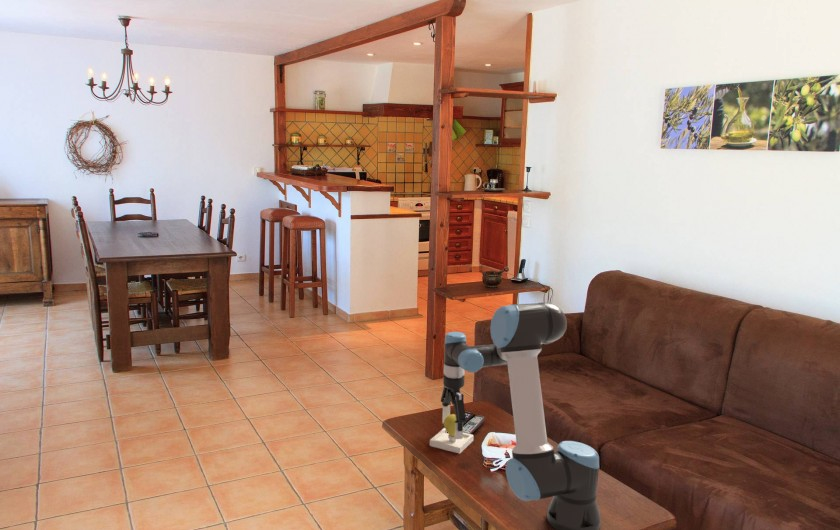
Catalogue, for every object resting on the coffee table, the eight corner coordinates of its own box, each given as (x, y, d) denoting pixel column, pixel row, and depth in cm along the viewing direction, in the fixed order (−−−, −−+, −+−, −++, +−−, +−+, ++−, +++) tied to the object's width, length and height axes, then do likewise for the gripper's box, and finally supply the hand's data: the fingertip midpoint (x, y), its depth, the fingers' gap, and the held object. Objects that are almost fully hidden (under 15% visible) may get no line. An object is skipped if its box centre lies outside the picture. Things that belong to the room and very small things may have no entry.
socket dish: (459, 453, 225) (460, 447, 225) (429, 445, 230) (429, 440, 230) (473, 440, 235) (473, 435, 235) (444, 433, 241) (444, 427, 240)
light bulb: (462, 437, 235) (463, 412, 233) (460, 445, 228) (461, 419, 226) (444, 436, 236) (445, 410, 234) (442, 444, 229) (442, 417, 228)
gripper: (476, 386, 218) (474, 444, 221) (452, 362, 241) (450, 415, 245) (456, 388, 215) (454, 446, 219) (433, 364, 239) (431, 417, 243)
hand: (452, 430), depth 232 cm, fingers open, 13 cm apart
